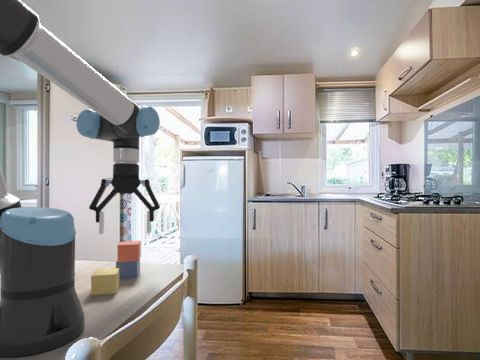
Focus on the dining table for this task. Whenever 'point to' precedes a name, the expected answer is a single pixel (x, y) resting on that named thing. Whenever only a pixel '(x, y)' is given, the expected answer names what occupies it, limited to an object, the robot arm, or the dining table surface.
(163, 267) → the dining table surface
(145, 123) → the robot arm
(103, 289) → the mustard brick
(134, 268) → the blue cube
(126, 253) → the red brick
